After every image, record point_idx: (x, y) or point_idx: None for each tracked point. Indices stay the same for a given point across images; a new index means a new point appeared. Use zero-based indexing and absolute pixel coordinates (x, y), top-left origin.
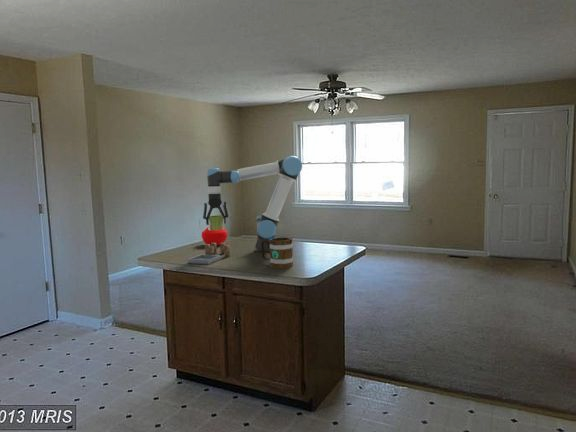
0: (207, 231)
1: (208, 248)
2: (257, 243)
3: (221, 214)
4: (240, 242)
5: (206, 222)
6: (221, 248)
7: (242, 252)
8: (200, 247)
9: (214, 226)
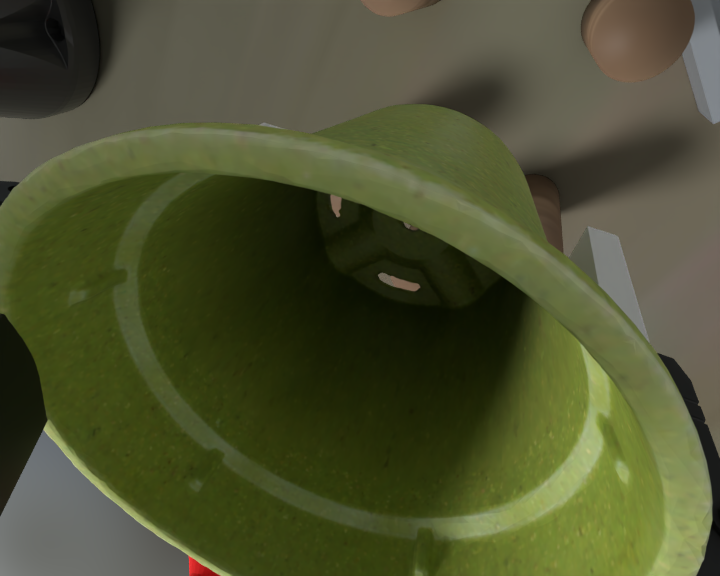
0: None
1: (684, 40)
2: (19, 39)
3: (12, 445)
4: None
5: None
6: None
7: (214, 70)
8: None
9: (515, 179)
